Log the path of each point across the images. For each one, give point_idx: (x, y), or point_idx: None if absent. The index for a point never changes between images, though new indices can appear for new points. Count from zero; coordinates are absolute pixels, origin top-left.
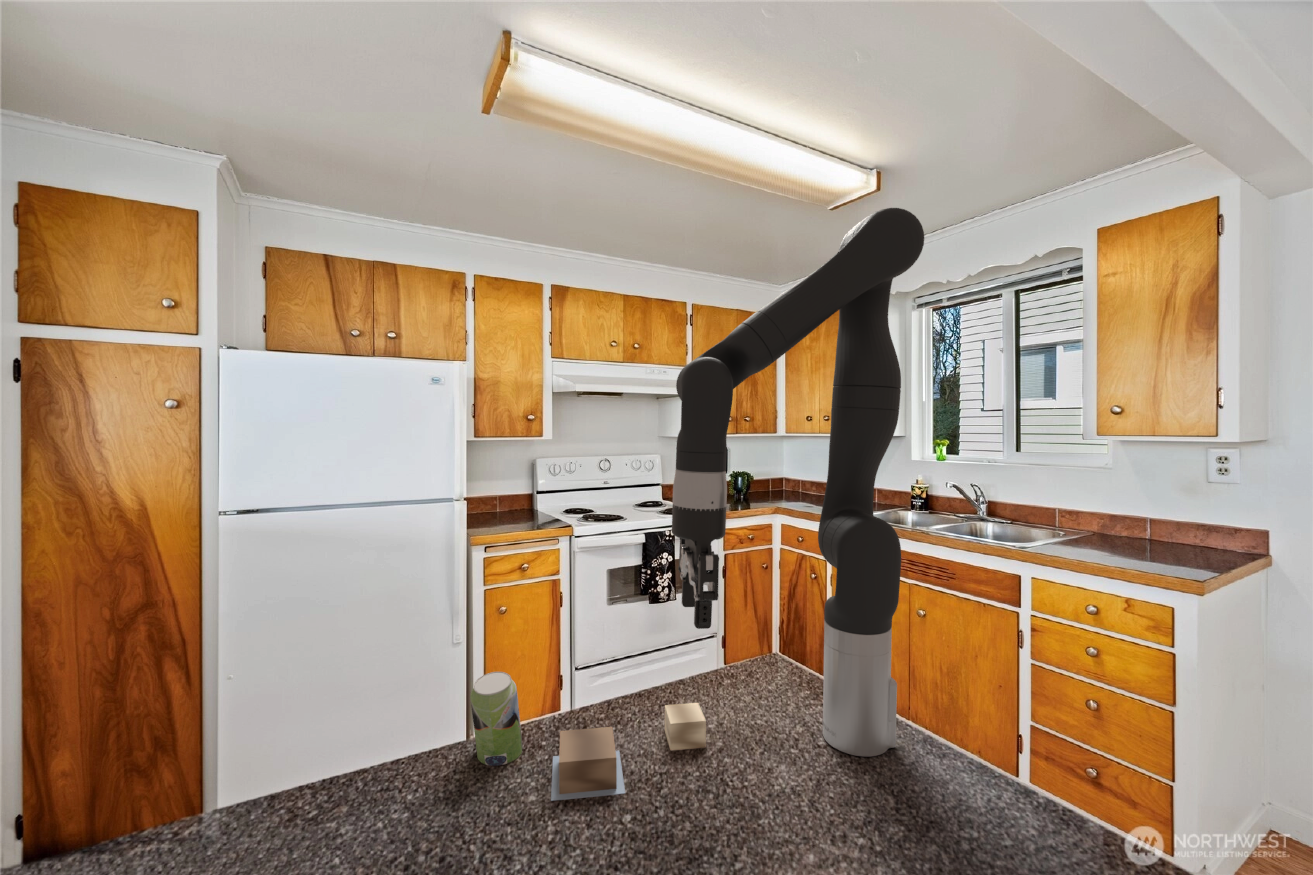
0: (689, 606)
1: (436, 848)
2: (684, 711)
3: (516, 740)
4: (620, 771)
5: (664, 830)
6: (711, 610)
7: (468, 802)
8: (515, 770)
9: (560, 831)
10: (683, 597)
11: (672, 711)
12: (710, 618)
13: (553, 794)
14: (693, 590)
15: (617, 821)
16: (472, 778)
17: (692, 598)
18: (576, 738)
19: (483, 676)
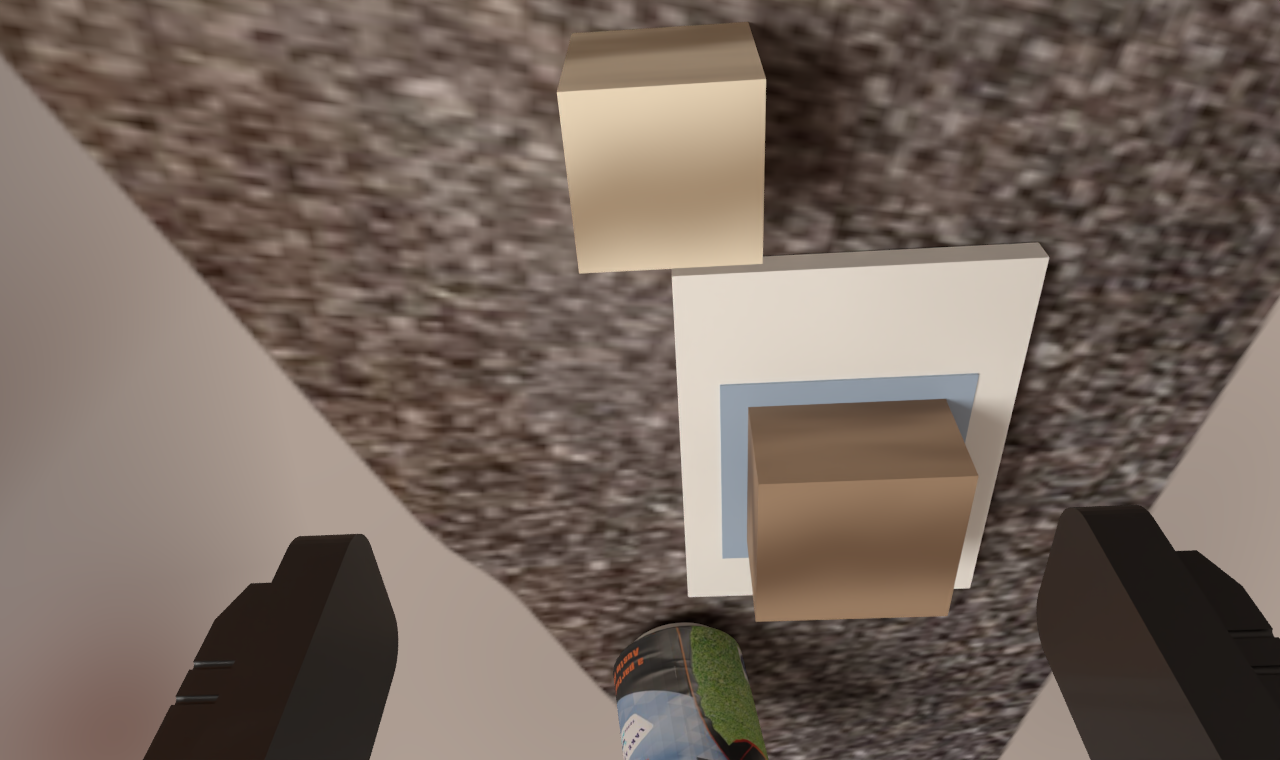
0: (379, 588)
1: (991, 697)
2: (651, 182)
3: (722, 680)
4: (853, 385)
5: (1156, 249)
6: (1257, 679)
7: (849, 675)
8: (734, 611)
9: (1033, 506)
10: (367, 737)
11: (645, 242)
12: (1195, 591)
13: None
14: (307, 747)
15: (1052, 379)
16: (752, 681)
17: (341, 648)
18: (816, 581)
19: None
